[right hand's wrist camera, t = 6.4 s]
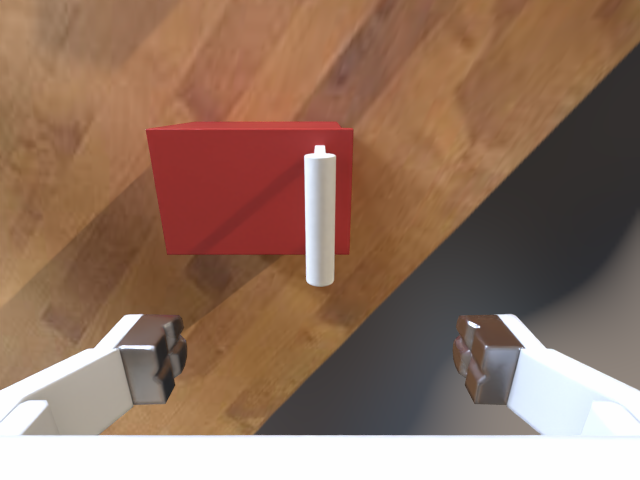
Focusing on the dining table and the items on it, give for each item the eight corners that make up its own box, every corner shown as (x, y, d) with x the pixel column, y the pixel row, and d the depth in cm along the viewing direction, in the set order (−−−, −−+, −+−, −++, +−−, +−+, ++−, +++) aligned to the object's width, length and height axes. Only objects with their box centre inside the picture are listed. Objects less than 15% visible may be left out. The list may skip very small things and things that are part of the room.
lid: (352, 128, 25) (365, 138, 18) (348, 250, 29) (358, 300, 21) (150, 128, 25) (81, 138, 18) (171, 250, 29) (120, 301, 21)
